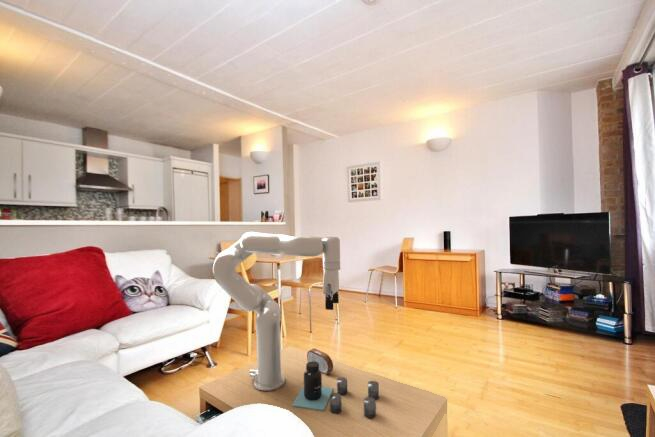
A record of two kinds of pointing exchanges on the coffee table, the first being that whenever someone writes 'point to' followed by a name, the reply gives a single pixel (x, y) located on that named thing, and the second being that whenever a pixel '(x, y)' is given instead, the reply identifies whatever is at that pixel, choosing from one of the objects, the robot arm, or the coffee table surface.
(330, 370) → the tin
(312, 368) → the supplement bottle
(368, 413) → the cylinder
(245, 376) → the coffee table surface
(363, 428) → the coffee table surface
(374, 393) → the spacer back right
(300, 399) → the teal board
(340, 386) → the cylinder
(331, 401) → the cylinder
